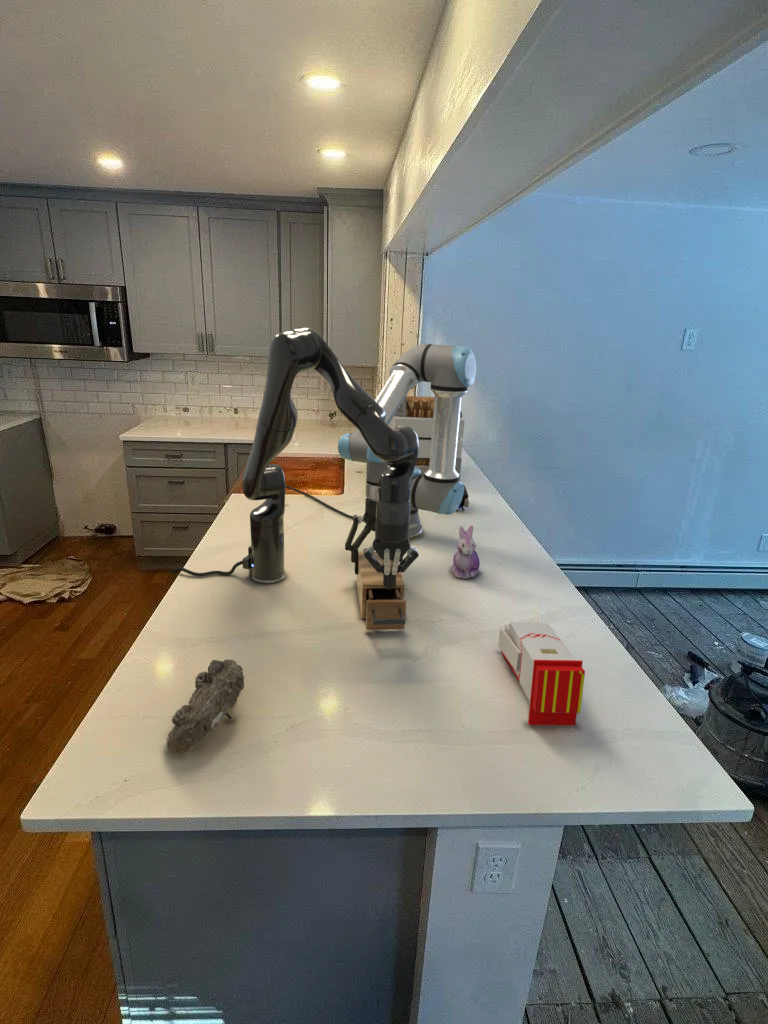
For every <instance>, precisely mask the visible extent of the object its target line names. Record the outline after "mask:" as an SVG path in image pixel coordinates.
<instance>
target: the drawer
mask: <svg viewBox="0 0 768 1024" xmlns="http://www.w3.org/2000/svg"><path fill="white" fill-rule="evenodd" d="M366 607H367V609H366V618H365V630H366V631H372V630H373V631H374V630H375V631H377V630H380V631H381V630H404V629H405V625H406V609H407V600H406V599H405V598H404V599H401V597H400V593H399V590H398V588H393V589H386V588H366Z"/></svg>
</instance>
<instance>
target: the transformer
mask: <svg viewBox="0 0 768 1024" xmlns="http://www.w3.org/2000/svg"><path fill="white" fill-rule="evenodd" d="M434 399H435V396H415V395H414V396H413V395H412V396H411V395H407V396H406V397H405V399H404V401H403V402H402V404H401V405H400V407H399V409H398V410H397V412H396V414H395V415H394V417H393V419H392V420H391V422H390V424H389V425H388V426H389V427H390V428H391V429H392V428H395V427H399V426H408V427H410V428H412V429H413V430H414V431H415V432H416V434H417V436H418V441H419V452H418V457H417V461H416V465H415V467H417V466H418V467H429V462H430V449H431V437H432V424H433V412H434ZM464 429H465V419H464V418H463V411H461V412H460V423H459V433H458V444H457V454H456V465H455V470H456V472H457V473H458V474H459V481H460V482H461V472H462V461H463V460H462V453H463V442H464V441H463V440H462V439H463V438H464V431H465V430H464Z"/></svg>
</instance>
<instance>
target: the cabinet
mask: <svg viewBox="0 0 768 1024" xmlns="http://www.w3.org/2000/svg"><path fill="white" fill-rule="evenodd" d="M358 553H359V556H358V575H356V581H355V583H356V588H357V595H358V603H359V610H360V618H361V619H366V609H367V607H366V588H386V587H384V585H383V573H381V572H380V573H378V572H377V571H376V570H375V569H374V567H373V566H372V565H371V564H370V563H369V561H368V560H367V559H366V558H365V556H364V552H363V551H358ZM374 553H375V556H374V557H375V558H376V559H377V561H378V562H379V563H380V564H381V565H383V560H382V559H381V558H380V557H379V555H378V554H377V553H376V551H374ZM390 570H391V560H390ZM393 588H398V590H399V593H400V597H401V599H405V581H404V578H403V575H402V573H401V572H399V573H397V575H396V585H395V587H393Z"/></svg>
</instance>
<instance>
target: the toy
mask: <svg viewBox="0 0 768 1024" xmlns="http://www.w3.org/2000/svg"><path fill="white" fill-rule="evenodd" d="M498 636H499V637H498V642H497V646H498V647H499V649H500V653H501V654H502V656H503V657H504V659H505V661H506V663H507V664H508V665H509V667H510V669H511V671H512V672H513V674H514V676H515V677H516V679H517V680H518V681H519V684H520V686H521V688H522V690H523V692H524V694H525V696H526V698H527V700H528V701H529V710H528V719H527V724H528V726H573V727H575V726H576V724H577V723H576V722H577V715H578V714H581V710H582V709H581V708H582V701H583V692H584V683H585V674H586V670H585V669H584V668H583V662H584V661H583V660H581V659H580V660H578V659H576V657H575V656H574V655H573V654H572V653H571V651H570V650H569V648H568V647H567V645H565V644H564V642H563V641H562V640H561V638H560V637H559V636H558V635H557V633H556V631H555V630H554V629H553V628H552V627H551V626H550V624H549V622H527V621H526V622H525V621H523V622H521V621H509V624H504V628H503V627H500V628H499V634H498Z"/></svg>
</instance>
